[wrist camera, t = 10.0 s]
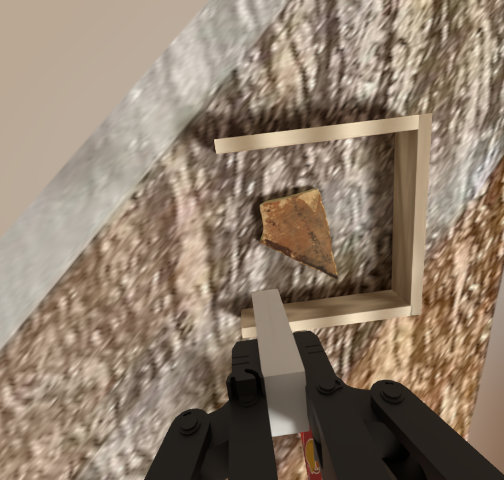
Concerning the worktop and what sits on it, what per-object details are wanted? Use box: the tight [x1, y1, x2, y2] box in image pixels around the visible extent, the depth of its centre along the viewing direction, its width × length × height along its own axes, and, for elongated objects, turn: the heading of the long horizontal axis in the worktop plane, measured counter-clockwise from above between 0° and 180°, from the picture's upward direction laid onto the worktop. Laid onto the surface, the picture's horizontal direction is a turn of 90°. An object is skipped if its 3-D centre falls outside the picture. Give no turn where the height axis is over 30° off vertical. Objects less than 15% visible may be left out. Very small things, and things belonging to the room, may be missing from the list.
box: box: [214, 113, 432, 338], centre depth 30 cm, size 20×20×4 cm
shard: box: [260, 188, 338, 279], centre depth 32 cm, size 11×8×2 cm
